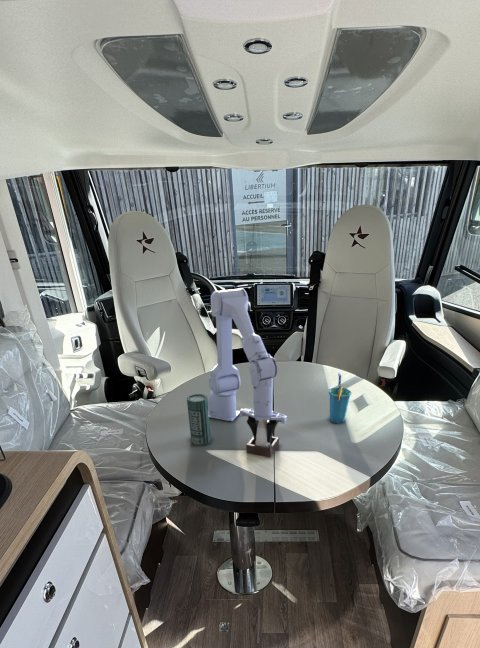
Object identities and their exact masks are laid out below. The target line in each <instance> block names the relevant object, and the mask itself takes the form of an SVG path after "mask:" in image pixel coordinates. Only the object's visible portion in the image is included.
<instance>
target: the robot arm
mask: <svg viewBox="0 0 480 648" xmlns="http://www.w3.org/2000/svg"><path fill="white" fill-rule="evenodd" d="M210 310H211V316H212V317H215V328H216V330H215V331H216V349H217V350H216V353H217V354H216V355H217V364H216V365H215V366H214V367H212V368H211V370H210V371H209V378H208V386H209V389H210V391H209V393H208V396H207V397H208V410H209V419H210V418H211V419H216V420H221V421H228V422H233V421H234V420H235V419H236V418H237V417H238V416H239V417H241V418H242V417H247V420H246V424H247V425H248V427H249V428H250V431H251V433H252V437H253V436H254V440H256V435H257V425H258V424H259V421H262V420H269V422H268V423H267V424H266V427H267V442H268V443H270V442H271V440H272V436H273V437H274V435H273V434H274V432H275V429H276V428H277V425H278V424H279V423H281V424H283V425H285V424H286V423H287V422H288V421H287V418H288V416H287V415H286V414H282V413H279V412H277V411H274V410H273V409H274V408H273V403H274V402H273V401H274V398H273V397H274V378H276V377H277V375H278V364H277V362H276V359H275V358H274V357H273V356H272V355H271V353H268V352H267V349H266V347H265V345H264V342H263V340H262V337H261V336H260V335H259V334H256V333H255V330H254V327H253V325H252V322H251V321H252V320H251V318H250V315H249V312H248V310H249V296H248V293H247V291H246V290H245V288H243V287H240V288H234V289H225V290H214V291H213V292H212V294H211V295H210ZM233 322H234V324H235V326H236V328H237V329H238V331H239V333H240V335H241V337H242V339H243V340H242V342H241V345H242V348H243V352H244V353H245V355H246V358H247V360H248V362H249V363H248V364H249V367H248V371H249V374H250V381H251V385H252V387H253V389H252V393H253V398H252V399H253V400H252V401H253V403H252V404H253V405H252V406H253V408H245V407H241V408H240V410H237V393H238V391H239V389H240V388H241V385H242V384H241V383H242V382H241V377H240V370H239V369H238V368H237V367H236V366H235V365H233Z"/></svg>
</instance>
